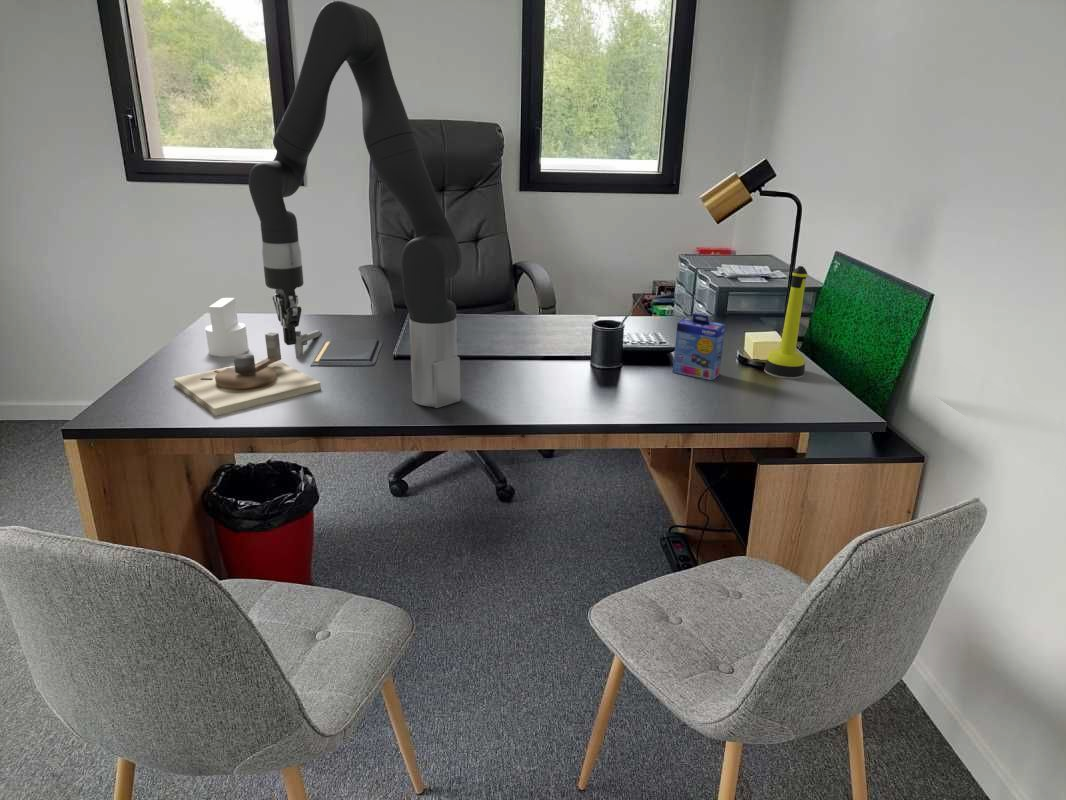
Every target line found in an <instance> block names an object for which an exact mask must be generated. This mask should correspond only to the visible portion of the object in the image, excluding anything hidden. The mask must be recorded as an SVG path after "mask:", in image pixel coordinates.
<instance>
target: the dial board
mask: <svg viewBox="0 0 1066 800" xmlns="http://www.w3.org/2000/svg"><path fill="white" fill-rule="evenodd" d="M264 359H265V358H264ZM264 359H260V360H259V359H258V360H255V364H256V363H258V362H260V361H262V360H264ZM268 366H269V367H272V368H274V369H275V370H276V374H277V377H276V379H275V380H274V381H272V382H270V383H268V384H266V385H263V386H259V387H254V388H246V389H230V388H224V387H220V386H218V385H217V384H216V380H215V376H216V374H218V373H219V372H221V371H223V370H226V369H229V368H232V367H235V366H234V365H231V366H227V367H221V368H217V369H212V370H206V371H202V372H198V373H193V374H188V375H182V376H178V377H174V378H173V383H174V386H175V387H176V388H178V389H180V390H181V391H182V392H183V393H185V394H186V395H187V396H189V397H190V398H191V399H193V400H194V401H195V402H197V403H198V404H199V405H201V406H202V407H203V408H205V409H206V410H207V411H209V413H211V414H212V415H214V416H215V417H218V416H221V415H226V414H228V413H232V412H237V411H240V410H244V409H248V408H252V407H257V406H261V405H264V404H269V403H272V402H276V401H280V400H283V399H288V398H292V397H297V396H300V395H304V394H308V393H312V392H317V391H320V390H322V385H321V381H318V380H316V379H315V378H312V377H311V376H309V375H307V374H305V373H303V372H302V371H299V370H297V369H296V368H295V367H292V366H290V365H288V364H287V363H285V362H283V361H281V360H279V361H277V362H274V363H272V364H270V365H268Z"/></svg>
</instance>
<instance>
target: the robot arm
mask: <svg viewBox="0 0 1066 800" xmlns="http://www.w3.org/2000/svg"><path fill="white" fill-rule="evenodd" d="M345 62H347V64H348V66H349V68H350V71H351V73H352V75H353V77H354V80H355V82H356V85H357V87H358V91H359V95H360V99H361V107H362V110H361V111H362V114H361V115H362V134H363V140H364V144H365V147H366V149H367V152H368V155H369V158H370V160H371V163H372V165H373V169H374V171H375V173H376V176H378V179H379V181H381V183H382V184H383V186H384V187H385V188H386V189H387V190H388V192H389V193H390V194H391V195H392V197H393V198H394V199H395V200H396V201H397V203H398V204H399V205H400V206H401V208H402V209H403V210H404V212H405V213H406V215H407V217H408V221H410V224H411V227H412V229H413V231H414V235H415V237H414V238H412V239H411V240H410V241H408V242H407V243H406V244H405V246H404V248H403V250H402V253H401V258H400V259H401V261H400V265H401V266H400V267H401V278H402V290H403V291H402V292H403V300H404V305H405V306H406V309H407V310H408V318H409V319H408V320H409V346H410V347H409V349H410V368H411V369H410V371H411V373H410V374H411V387H412V388H411V392H412V401H413V402H414V403H415V404H417V405H419V406H425V407H432V408H435V409H438V408H442V407H445V406H449V405H452V404H455V403H458V402H461V362H460V361H461V358H460V357H459V356H458V349H457V348H458V347H457V346H458V344H457V342H458V341H457V339H458V337H457V307H456V304H455V303H454V301H452V300H449V299H448V297H447V288H446V287H447V286H446V281H447V280H450V279H452V278H454V277H455V276H456V275H457V274H458V273H459V271H460V269H461V268H462V261H463V260H462V258H463V256H462V250H461V248H460V245H459V243H458V240H457V237H456V236H455V233H454V232H453V230H452V227H451V225H450V223H449V221H448V219H447V217H446V214H445V213H444V210H443V208H442V206H441V204H440V202H439V199H438V197H437V193H436V190H435V187H434V185H433V182H432V180H431V177H430V175H429V172H428V169H427V167H426V164H425V161H424V159H423V155H422V151H421V148H420V146H419V143H418V140H417V137H416V135H415V132H414V130H413V126H412V124H411V121H410V120H409V117H408V114H407V111H406V109H405V106H404V103H403V101H402V97H401V94H400V93H399V90H398V87H397V84H396V82H395V78H394V75H393V72H392V69H391V65H390V61H389V56H388V53H387V50H386V45H385V41H384V37H383V33H382V30H381V28H380V26H379V23H378V22H377V20H376V18H375V17H374V16H373V15H372V14H371V13H370V11H368V10H367V9H365V8H363V7H360V6H357V5H355V4H353V3H348V2H346V1H343V0H333V1H329V2H326V4H324V5H323V6H322V8H321V9H320V10H319V12H318V14H317V15H316V18H315V21H314V24H313V27H312V31H311V34H310V37H309V42H308V45H307V49H306V52H305V56H304V59H303V63H302V66H301V69H300V72H299V75H298V79H297V81H296V85H295V88H294V91H293V94H292V95H291V96H292V97H291V98H290V101H289V103H288V106H287V107H286V110H285V112H284V114H283V116H282V118H281V119H280V122H279V124H278V126H277V129H276V130H275V134H274V136H273V139H272V145H273V147H274V149H275V150H276V154H275V157H274V159H273V160H271V161H264V162H263V161H262V162H259V163H256V164H255V165H253V167H252V168H251V170H250V171H249V174H248V190H249V192H250V193H249V194H250V197H251V199H252V203H253V205H254V208H255V211H256V213H257V216H258V218H259V220H260V232H261V242H262V248H261V249H262V251H261V252H262V253H261V254H262V262H263V263H262V264H263V272H264V273H263V274H264V282H265V287H267V288H269V289H272V290H275V294H274V295H272V300H273V303H274V308H275V310H276V315H277V319H278V320H277V321H279V322H280V325H281V327H282V332H283V333H282V334H283V342H284V344H285V345H287V346H292V345H293V346H295V344H296V331H297V330H296V328H297V327H299V324H300V320H301V314H302V307H301V306H298V304H299V297H298V295H297V294H296V289H297V288H301V287H302V286H303V285H304V272H303V262H302V251H301V246H300V240H299V230H298V221H297V217H296V215H295V213H293V212H292V211H290V210H288V209H287V208H286V204H285V201H284V198H288V197H290V196H292V195H294V194H295V193H296V192H297V191H298V190H299V188H300V187H301V185H302V183H303V180H304V177H305V174H306V168H307V166H308V159H309V155H310V154H311V152H312V150H313V148H314V146H315V144H316V142H317V141H318V138H319V136H320V135H321V132H322V130H323V126H324V123H325V120H326V114H327V105H328V98H329V93H330V89H331V86H332V84H333V81H334V78H335V77H336V75H337V73H338V72H339V70H340V68H342V65H343V64H344V63H345Z"/></svg>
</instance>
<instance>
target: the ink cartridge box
mask: <svg viewBox="0 0 1066 800" xmlns="http://www.w3.org/2000/svg"><path fill="white" fill-rule="evenodd" d="M702 318H703V319H702ZM709 319H710V318H709V315H707V314H700V313H692V318H689V317H684V318H682V319H681V320H679V321H678V322H677V323H676V324H677V325H676V335H675V343H674V344H675V345H674V353H673V354H674V355H673V365H672V373H673V374H674V373H675V374H679V375H683V376H688V377H693V378H699V379H704V380H708V381H714V380H715V379H716V378H717V377H718V376H720V374H721V365H722V357H723V350H724V349H723V348H724V342H725V341H724V339H725V332H726V331H725V330H726V324H725V323H721V322H715V321H710V320H709Z"/></svg>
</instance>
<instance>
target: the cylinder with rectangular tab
mask: <svg viewBox="0 0 1066 800" xmlns="http://www.w3.org/2000/svg"><path fill="white" fill-rule="evenodd" d="M208 309H209V316H210V323H211V324H210V325H207V326H205V329H204V330H205V337H206V341H207V342H206V343H207V348H208V350H207V351H208V354H209V355H211V356H213V357H223V358H224V357H235V356H237V355H241V354H246V353H247V352H248V351H249V342H248V335H247V327H246V323H243V322H240V321H239V319H238V313H237V306H236V298H235V297H221V298H220V299H218V300H217V301H216V302H214V303H212V304H211V305H210V306H208Z"/></svg>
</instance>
